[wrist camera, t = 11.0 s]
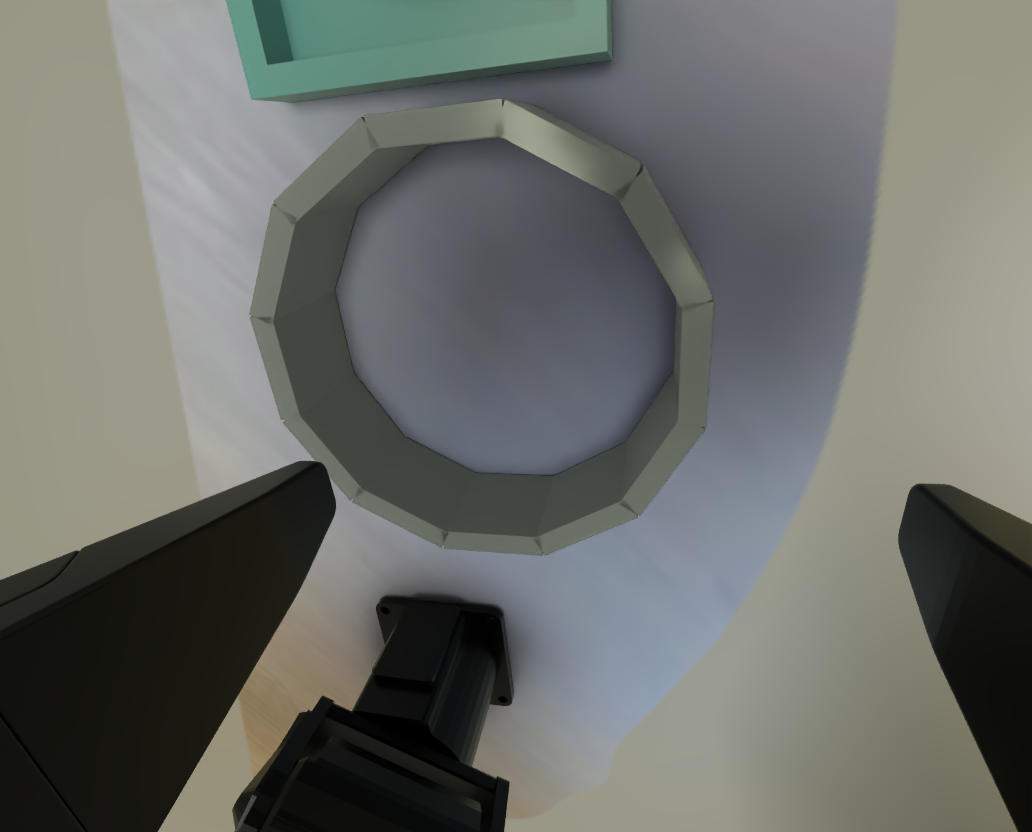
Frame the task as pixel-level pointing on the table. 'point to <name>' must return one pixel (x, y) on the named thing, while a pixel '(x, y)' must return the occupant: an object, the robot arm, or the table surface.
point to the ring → (361, 420)
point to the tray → (408, 42)
